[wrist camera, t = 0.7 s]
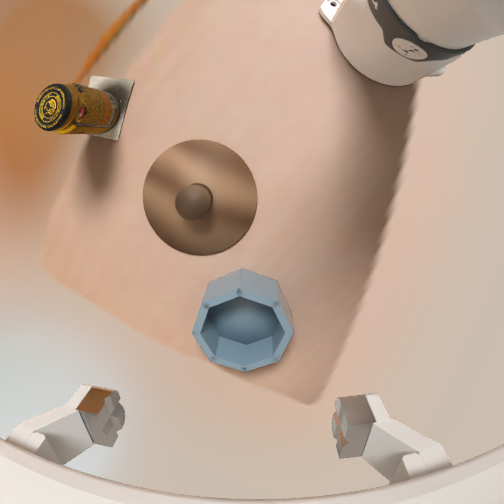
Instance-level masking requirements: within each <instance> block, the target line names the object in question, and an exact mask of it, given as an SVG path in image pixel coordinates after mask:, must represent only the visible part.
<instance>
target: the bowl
mask: <svg viewBox="0 0 504 504" xmlns="http://www.w3.org/2000/svg"><path fill="white" fill-rule="evenodd" d="M293 333H294V329H293V322H292V315H291V309H290V307H289V305H288V303H287V301H286V299H285V297H284V295H283V292H282V290H281V288H280V286H279V284H278V282H277V280H274V279H271V278H268V277H265V276H262V275H260V274H257V273H254V272H251V271H248V270H245V269H243V268H242V269H240V270H237V271H235V272H233V273H230V274H228V275H225V276H223V277H221V278H218V279H216V280H213V281H211V282H209V285H208V288H207V290H206V293H205V295H204V298H203V301H202V304H201V307H200V310H199V313H198V316H197V319H196V322H195V325H194V328H193V331H192V334H193V336H194V337H195V339H196V340H197V342H198V344H199V345H200V347H201V348H202V350H203V351H204V353H205V354H206V356H207V357H208V359H209V360H210V361H211V362H214V363H217V364H221V365H224V366H227V367H230V368H233V369H237V370H240V371H243V372H246V371H250V370H253V369H256V368H259V367H262V366H265V365H268V364H271V363H274V362H277V361H279V359H280V357H281V356H282V354H283V352H284V350H285V348H286V346H287V345H288V343H289V341H290V339H291V337H292V335H293Z"/></svg>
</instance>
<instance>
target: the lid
mask: <svg viewBox="0 0 504 504" xmlns="http://www.w3.org/2000/svg"><path fill="white" fill-rule="evenodd" d="M143 204H144V210H145V213H146V216H147V219H148V221H149V223H150V225H151V226H152V228H153V230H154V231H155V232H156V233H157V235H158V236H159V237H160V238H161V239H162V240H163V241H165V242H166V243H167V244H169V245H170V246H172V247H174V248H175V249H178V250H180V251H183V252H186V253H190V254H200V255H204V254H212V253H216V252H219V251H222V250H224V249H226V248H228V247H230V246H232V245H233V244H234V243H236V242H237V241H238V240H239V239H240V238H241V237H242V236H243V235H244V234H245V233H246V231H247V230H248V228H249V227H250V225H251V223H252V220H253V218H254V215H255V212H256V206H257V190H256V185H255V181H254V178H253V175H252V173H251V171H250V169H249V167H248V166H247V164H246V163H245V162H244V160H243V159H242V158H241V157H240V156H239V155H238V154H237V153H235V152H234V151H233V150H231V149H230V148H228V147H226V146H224V145H222V144H220V143H217V142H213V141H208V140H190V141H185V142H182V143H179V144H176V145H174V146H172V147H171V148H169V149H167V150H166V151H165V152H163V153H162V154H161V155H160V156H159V157H158V158H157V159H156V160H155V162H154V163H153V165H152V166H151V168H150V170H149V172H148V174H147V176H146V179H145V183H144V188H143Z"/></svg>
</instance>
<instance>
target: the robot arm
mask: <svg viewBox="0 0 504 504" xmlns="http://www.w3.org/2000/svg"><path fill="white" fill-rule="evenodd" d="M331 4H334V5H335V7H333V6H331ZM319 12H320V14H321V16H322V17H323V19H324V20H325V21H326V22H327V23H328V24H329V25H330V26H331V28H332V30H333V32H334V35H335V39H336V41H337V44H338V46H339V48H340V50H341V52H342V53H343V55H344V56H345V58H346V59H347V60H348V61H349V62H350V63H351V65H353V66H354V67H355V68H356V69H357V70H358V71H359V72H361V73H362V74H364V75H365V76H367V77H368V78H370V79H372V80H374V81H377V82H379V83H382V84H386V85H391V86H404V85H409V84H412V83H414V82H416V81H418V80H419V79H421V78H423V77H426V76H439V75H441V74H443V73H444V71H445V66H446V65H448V64H450V63H452V62H454V61H455V60H457V59H459V58H460V56H461V55H462V54H464V53H465V52H466V51H468V50H470V49H471V48H472V47H473V46H474V45H475V44H476V43H479V42H481V41H484V40H487V39H490V38H493V37H496V36H499V35H502V34H504V0H325V1H324V2H323V4H322V5H321V6H320V8H319ZM119 400H120V396H119V393H118V392H117V391H116V390H112V389H107V388H102V387H97V386H91V385H87V384H83V385H81V386H80V388H79V389H78V390H77V391H76V393H75V394H74V395H73V396H72V398H71V399H70V400H69V402H68V403H67V404H66V406H65V407H64V406H61V407H58V408H56V409H54V410H51V411H49V412H46V413H44V414H42V415H40V416H37V417H35V418H32V419H30V420H27V421H25V422H22V423H20V424H18V426H16V428H15V429H14V430H13V431H12V433H11V434H10V435H9V436H8V437H7V439H6V440H4V439H2V438H0V504H504V444H503V445H501V446H499V447H497V448H494V449H492V450H490V451H488V452H486V453H483V454H481V455H479V456H476V457H474V458H472V459H469V460H467V461H464V462H462V463H459V464H456V465H454V466H453V465H452V463H451V462H450V460H449V458H448V456H447V454H446V453H445V451H444V449H443V448H442V446H441V444H439V443H437V442H435V441H433V440H431V439H429V438H427V437H425V436H424V435H422V434H420V433H418V432H416V431H414V430H412V429H411V428H409V427H407V426H405V425H403V424H402V423H400V422H398V421H396V420H391V419H390V417H389V415H388V413H387V411H386V409H385V407H384V405H383V403H382V401H381V399H380V397H379V395H378V394H377V393H370V394H364V395H357V396H348V397H338V398H337V400H336V403H335V407H336V412H335V413H334V414H333V419H332V429H333V435H334V438H336V439H337V444H336V447H337V451H338V455H339V459H341V458H350V457H358V456H362V458H363V459H365V460H366V461H367V462H368V463H369V464H370V465H371V466H373V467H374V468H375V469H376V470H377V471H378V472H380V473H381V474H382V475H383V476H385V477H386V478H387V479H388V480H389V481H390V483H389V485H385V486H381V487H376V488H372V489H366V490H360V491H355V492H349V493H342V494H334V495H326V496H318V497H306V498H293V499H226V498H212V497H200V496H191V495H183V494H176V493H169V492H163V491H157V490H152V489H146V488H141V487H137V486H132V485H128V484H123V483H119V482H115V481H111V480H108V479H104V478H100V477H97V476H94V475H90V474H87V473H84V472H80V471H78V470H75V469H72V468H69V467H66V466H63V465H64V464H66V463H67V462H68V461H70V460H72V459H73V458H74V457H76V456H77V455H79V454H80V453H82V452H83V451H85V450H86V449H88V448H89V447H91V446H92V445H93V443H95V444H99V445H103V446H108V447H113V445H114V443H115V441H116V439H117V437H118V435H117V431H118V430H120V429H122V427H123V425H124V421H125V411H124V408H123V406H122V405H121V404H120V403H119Z"/></svg>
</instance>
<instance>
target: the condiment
mask: <svg viewBox="0 0 504 504" xmlns="http://www.w3.org/2000/svg"><path fill="white" fill-rule="evenodd" d="M133 83H134V80H126V79H117V78H108V77H98V76H91V79H90V82H89V86H88V87H86V86H83V85H79V84H75V83H68V84H52V85H50V86H48V87H47V88H45V89H44V90H43V91H42V93H41V94H40V96H39V97H38V99H37V102H36V104H35V111H34V114H35V121H36V123H37V124H38V126H39V127H41V128H42V129H43V130H46V131H54V132H56V133H59V134H88V135H93V136H98V137H102V138H107V139H112V140H116V141H118V137H119V134H120V130H121V126H122V123H123V119H124V115H125V111H126V106H127V103H128V100H129V97H130V93H131V89H132V86H133ZM120 100H121V102H120Z"/></svg>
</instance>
